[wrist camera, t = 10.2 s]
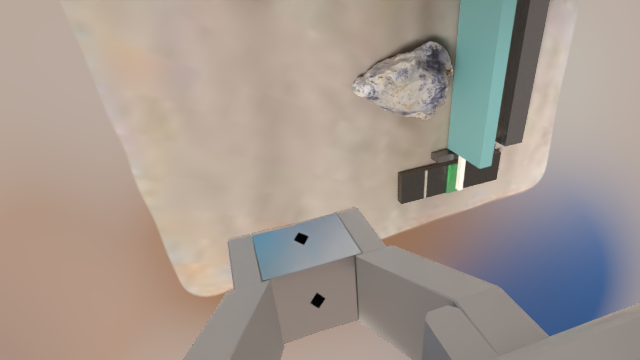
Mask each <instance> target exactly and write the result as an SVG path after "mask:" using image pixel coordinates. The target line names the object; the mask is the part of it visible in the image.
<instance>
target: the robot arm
mask: <svg viewBox="0 0 640 360" xmlns="http://www.w3.org/2000/svg"><path fill="white" fill-rule="evenodd" d="M251 235H252V236H251ZM252 239H253V241H252ZM253 244H254V245H253ZM254 248H255V249H254ZM228 250H229V257H230V265H231V272H232V279H233V287H234V290H231V291H228V292H226V294H225V295H224V297H223V299H222V301H221V302H220V303H219V305H218V306H217V308H216V310H215V311H214V313H213V314H212V316H211V317H210V319H209V320H208V322H207V323H206V325H205V326H204V328H203V330H202V331H201V333H200V334H199V336H198V337H197V339H196V341H195V342H194V344H193V345H192V347H191V348H190V350H189V351H188V353H187V354H186V356H185V357H184V359H183V360H280V358H281V356H282V352H283V349H284V344H285V343H288V342H291V341H294V340H297V339H300V338H302V337H305V336H308V335H311V334H314V333H317V332H319V331H322V330H326V329H329V328H333V327H336V326H339V325H343V324H347V323H350V322H353V321H357V320H359V322H360V323H362V324H363V325H365V326H366V327H367V328H369V329H370V330H371V331H373V332H374V333H376V334H377V335H379V336H380V337H381V338H383V339H384V340H386V341H387V342H388V343H390V344H391V345H392V346H394V347H395V348H397V349H398V350H399V351H401V352H402V353H404V354H405V355H406V356H408V357H410V358H411V359H412V360H640V303H638V304H635V305H633V306H630V307H628V308H625V309H622V310H620V311H617V312H614V313H611V314H609V315H606V316H604V317H601V318H598V319H596V320H593V321H590V322H588V323H585V324H582V325H580V326H577V327H574V328H572V329H569V330H566V331H564V332H561V333H558V334H556V335H553V336H551V337H549V336H548V335H547V334H546V333H545V332H544V331H543V330H542V329H541V328H540V327H539V326H538V325H537V324H536V323H535V322H534V321H533V320H532V319H531V318H530V317H529V316H528V315H527V314H526V313H525V312H524V311H523V310H522V309H521V308H520V307H519V306H518V305H517V304H516V303H515V302H514V301H513V300H512V299H511V298H510V297H509V296H508V295H507V294H506V293H505V292H504V291H503V290H502V289H501V288H500V287H498V286H496V285H493V284H490V283H488V282H485V281H483V280H480V279H478V278H475V277H473V276H470V275H468V274H465V273H462V272H460V271H457V270H455V269H452V268H449V267H447V266H444V265H442V264H439V263H437V262H434V261H432V260H429V259H426V258H424V257H421V256H419V255H416V254H414V253H411V252H408V251H406V250H403V249H401V248H398V247H396V246H393V245H392V246H388V247H386V246H385V244H384V243H383V242H382V240H381V239H380V238H379V236H378V235H377V234H376V232H375V231H374V230H373V228H372V227H371V226H370V224H369V223H368V222H367V220H366V219H365V218H364V216H363V215H362V214H361V212H360V211H359V210H358V208H355V207H352V208H349V209H345V210H342V211H338V212H335V213H333V214H330V215H326V216H322V217H318V218H314V219H311V220H307V221H303V222H299V223H295V224H294V223H293V224H289V225H285V226H280V227H276V228H272V229H267V230H263V231H259V232H254V233H251V234H246V235H242V236H238V237H234V238H230V239H228Z"/></svg>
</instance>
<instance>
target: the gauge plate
mask: <svg viewBox="0 0 640 360" xmlns="http://www.w3.org/2000/svg"><path fill="white" fill-rule="evenodd" d="M516 4H517V0H460V12H459V23H458V34H457V46H456V57H455V69H454V80H453V91H452V103H451V114H450V125H449V137H448V149H450V150H451V151H453V152H454V153H456V154H457V155H459V159H458V168H457V178H456V187H455V189H457V190H458V191H459V190H462V189H463V181H464V172H465V164H466V160H467V161H468V162H470V163H471V164H473V165H474V166H476V167H477V168H479V169H481V168H485V167H489V166H491V164H492V158H493V152H494V145H495V139H496V132H497V126H498V120H499V113H500V107H501V100H502V94H503V88H504V81H505V75H506V68H507V62H508V56H509V49H510V43H511V36H512V30H513V24H514V17H515V11H516Z"/></svg>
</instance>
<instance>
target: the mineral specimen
mask: <svg viewBox="0 0 640 360" xmlns="http://www.w3.org/2000/svg"><path fill="white" fill-rule="evenodd" d="M453 71H454V70H453V69H452V65H451V59H450V57H449V55H448V52H447V51H446V50H445V48H444V47H442V46H441V45H440V44H438V43H437V42H432V41H430V42H428V43H425V44H423V45H421V46H420V47H417V48H416V49H415V50H414V51H412V52H406V53H403V54H397V55H396V56H394V57H392V58H390V59H386V60H384V61H382V62H379V63H377V64H376V65H375V66H373V67H372V69H370V70H368V71H367V72H366V73H365V74H364V75H363V76H362V77H358V78H357V79H356V81H355V82H354V83H353V85H352V86H353V90H354V93H355V94H357V95H358V96H359V97H365V98H367V99H368V100H369V101H374V102H375V103H376V104H377V105H378V106H380V107H382V108H384V111H386V110H387V111H389V112H391V113H394V114H399V115H401V116H404V117H408V116H415V117H417V118H419V117H420V119H421V120H425V119H426V120H427V119H430V118H431V117H433V116H434V114H435V112H436V110H437V109H438V107H441V106H443V104H445V99H446V94H447V91H448V87H449V79H450V77H451V76H453Z"/></svg>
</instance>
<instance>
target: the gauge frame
mask: <svg viewBox="0 0 640 360" xmlns="http://www.w3.org/2000/svg"><path fill="white" fill-rule="evenodd" d="M549 1H550V0H517V4H516V11H515V17H514V24H513V30H512V36H511V43H510V49H509V56H508V62H507V68H506V75H505V81H504V88H503V94H502V100H501V107H500V113H499V120H498V126H497V132H496V139H495V141H496V142H498V143H500V144H502V145H504V146H508V145H513V144H517V143H521V142H522V139H523V134H524V129H525V124H526V119H527V114H528V108H529V103H530V98H531V93H532V88H533V83H534V78H535V73H536V68H537V62H538V57H539V52H540V47H541V42H542V37H543V32H544V27H545V22H546V16H547V11H548V6H549ZM500 155H501V152H499V151H497V150H496V149H495V145H494V152H493V158H492V164H491V166H489V167H485V168H481V169H479V168H477V167H476V166H474V165H473V164H471V163H470V162H468V161H467V160H466V164H465V172H464V181H463V188H465V187H469V186H473V185H477V184H481V183H484V182H488V181H492V180H496V178H497V172H498V166H499V161H500ZM431 159H433V160H434V161H435V162H437V164H432V165H428V166H424V167H420V168H416V169H411V170H407V171H403V172H399V173H398V201H399V202H400V203H401V204H403V203H407V202H411V201H415V200H419V199H423V198H424V199H425V198H427V197H430V196H434V195H438V194H442V193H450V192H453V191H457V189H455V187H456V178H457V168H458V159H459V155H457V154H456V153H454V152H453V151H451V150H450V149H445V150H441V151H437V152H432V154H431Z"/></svg>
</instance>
